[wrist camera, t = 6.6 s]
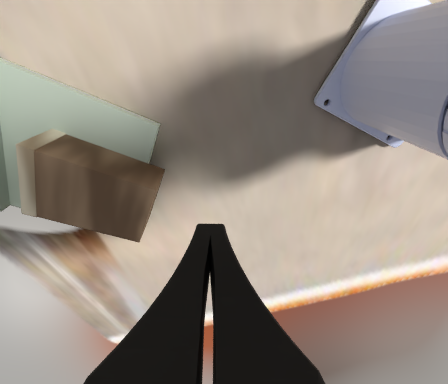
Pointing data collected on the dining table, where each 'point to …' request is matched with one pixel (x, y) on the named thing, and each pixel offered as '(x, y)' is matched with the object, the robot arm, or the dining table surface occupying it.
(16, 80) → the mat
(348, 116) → the robot arm
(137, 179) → the walnut block
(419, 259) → the dining table surface
